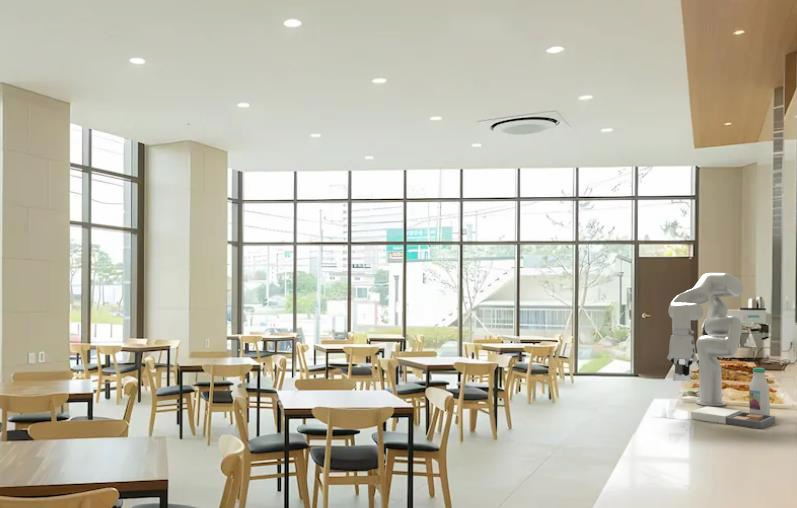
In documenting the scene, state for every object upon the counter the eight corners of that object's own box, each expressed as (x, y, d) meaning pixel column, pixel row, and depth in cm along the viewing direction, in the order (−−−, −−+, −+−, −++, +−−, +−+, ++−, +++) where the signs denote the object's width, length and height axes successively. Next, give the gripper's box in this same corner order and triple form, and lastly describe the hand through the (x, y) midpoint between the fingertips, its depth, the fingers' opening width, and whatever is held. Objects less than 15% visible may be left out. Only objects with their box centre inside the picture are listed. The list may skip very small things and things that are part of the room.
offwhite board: (706, 413, 311) (706, 406, 311) (740, 417, 301) (740, 410, 301) (691, 418, 300) (691, 411, 300) (725, 423, 290) (725, 416, 290)
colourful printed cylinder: (765, 413, 310) (764, 366, 310) (772, 417, 302) (771, 369, 303) (746, 413, 311) (745, 366, 311) (753, 416, 303) (752, 369, 303)
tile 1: (737, 420, 293) (737, 415, 293) (750, 422, 289) (750, 417, 289) (732, 422, 290) (732, 417, 290) (745, 424, 286) (745, 419, 286)
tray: (741, 417, 301) (741, 411, 301) (774, 422, 292) (774, 416, 292) (726, 423, 290) (726, 417, 290) (761, 428, 281) (760, 422, 281)
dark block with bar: (685, 380, 317) (686, 364, 318) (692, 381, 315) (693, 365, 316) (671, 380, 306) (671, 363, 307) (677, 381, 304) (678, 364, 305)
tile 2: (763, 415, 293) (763, 420, 293) (750, 413, 297) (751, 418, 297) (759, 417, 290) (759, 422, 290) (746, 415, 293) (746, 420, 293)
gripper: (704, 333, 308) (704, 375, 308) (667, 331, 320) (667, 372, 319) (696, 334, 303) (697, 377, 303) (659, 332, 315) (660, 374, 314)
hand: (682, 374), depth 311 cm, fingers closed on dark block with bar, 3 cm apart
